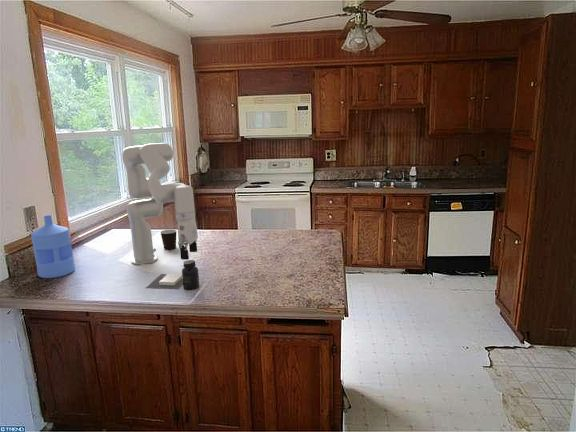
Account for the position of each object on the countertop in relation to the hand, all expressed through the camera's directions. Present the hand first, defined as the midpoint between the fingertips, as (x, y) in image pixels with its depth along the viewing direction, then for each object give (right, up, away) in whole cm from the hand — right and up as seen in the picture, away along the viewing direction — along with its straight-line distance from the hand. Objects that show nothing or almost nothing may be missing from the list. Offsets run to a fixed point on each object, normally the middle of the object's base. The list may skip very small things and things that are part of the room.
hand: (189, 255), depth 166 cm
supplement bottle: (0, -15, +4) cm, 15 cm away
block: (-14, -12, +10) cm, 21 cm away
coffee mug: (-25, -2, +59) cm, 64 cm away
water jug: (-70, -11, +25) cm, 75 cm away
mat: (-11, -13, +10) cm, 20 cm away
